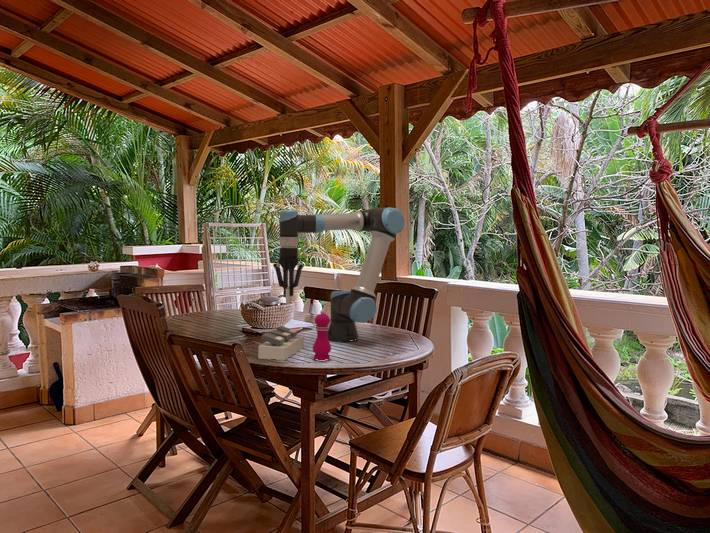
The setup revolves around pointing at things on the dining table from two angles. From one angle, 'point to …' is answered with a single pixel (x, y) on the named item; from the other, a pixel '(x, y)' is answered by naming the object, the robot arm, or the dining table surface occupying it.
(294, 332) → the rocker
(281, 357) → the power strip
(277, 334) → the rocker
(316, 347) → the pepper mill
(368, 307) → the robot arm
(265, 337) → the rocker
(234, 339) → the dining table surface
